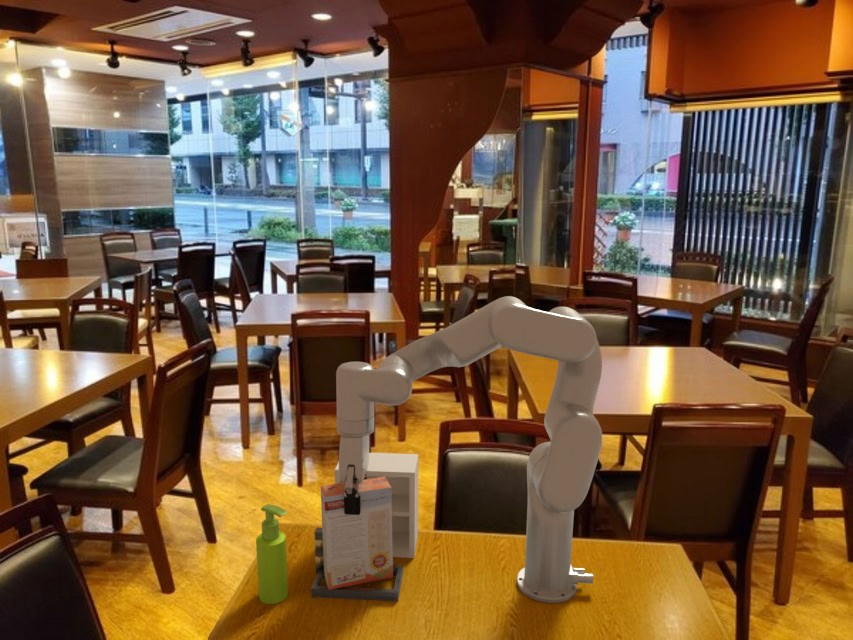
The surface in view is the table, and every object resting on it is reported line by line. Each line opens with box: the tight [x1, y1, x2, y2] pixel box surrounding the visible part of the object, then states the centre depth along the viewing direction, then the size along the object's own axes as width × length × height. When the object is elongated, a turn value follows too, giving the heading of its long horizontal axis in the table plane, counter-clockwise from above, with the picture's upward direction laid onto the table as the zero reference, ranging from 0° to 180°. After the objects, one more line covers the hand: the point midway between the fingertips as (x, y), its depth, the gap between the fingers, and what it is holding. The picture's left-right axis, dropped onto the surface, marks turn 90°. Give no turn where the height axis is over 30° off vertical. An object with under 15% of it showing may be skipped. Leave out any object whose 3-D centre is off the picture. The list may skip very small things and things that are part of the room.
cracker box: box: [320, 477, 394, 590], centre depth 133 cm, size 14×6×21 cm, turn 108°
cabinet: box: [334, 452, 419, 559], centre depth 149 cm, size 18×10×21 cm, turn 86°
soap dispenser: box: [255, 503, 289, 605], centre depth 130 cm, size 6×7×20 cm
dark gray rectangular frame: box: [310, 526, 404, 602], centre depth 135 cm, size 19×10×10 cm, turn 86°
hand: (356, 503), depth 132 cm, fingers closed on cracker box, 7 cm apart
